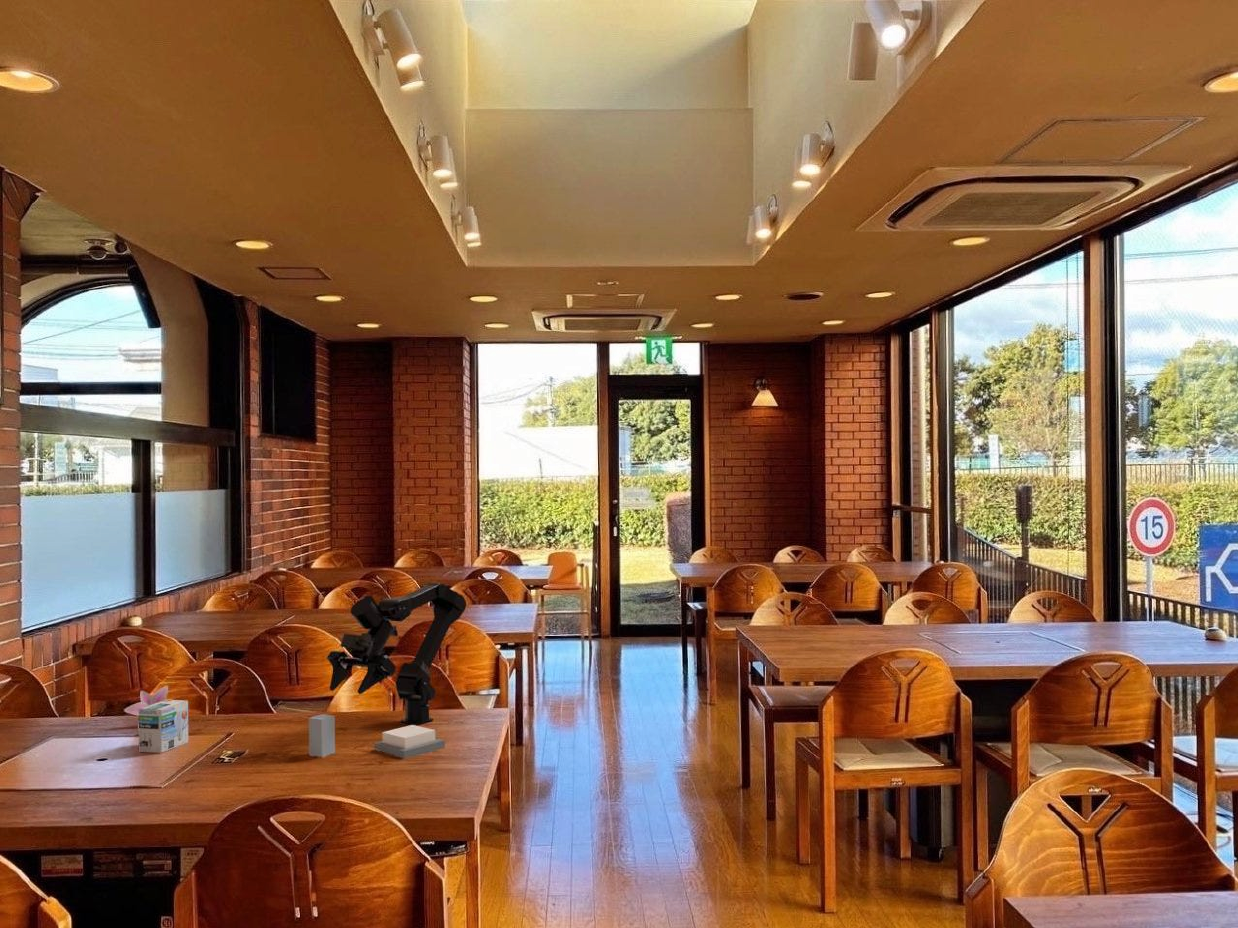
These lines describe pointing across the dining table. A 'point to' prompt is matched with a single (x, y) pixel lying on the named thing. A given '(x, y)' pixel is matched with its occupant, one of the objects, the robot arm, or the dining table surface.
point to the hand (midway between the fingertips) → (344, 691)
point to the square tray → (412, 750)
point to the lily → (147, 700)
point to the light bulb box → (163, 726)
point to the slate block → (321, 735)
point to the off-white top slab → (408, 736)
